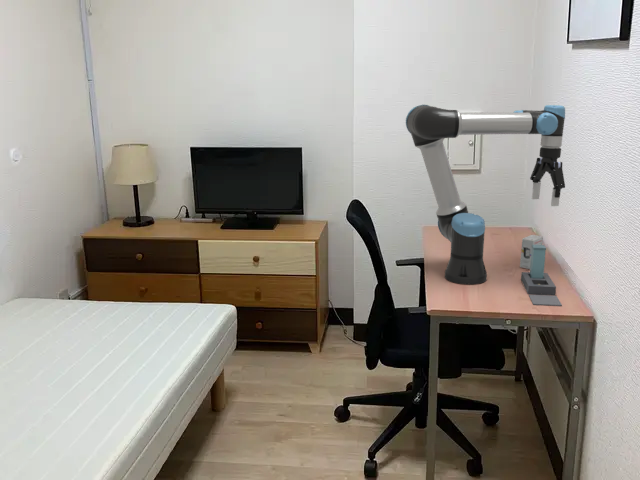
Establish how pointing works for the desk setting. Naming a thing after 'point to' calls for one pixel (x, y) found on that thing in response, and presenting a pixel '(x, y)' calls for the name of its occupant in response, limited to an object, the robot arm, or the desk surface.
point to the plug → (537, 261)
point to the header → (538, 284)
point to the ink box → (528, 249)
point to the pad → (545, 300)
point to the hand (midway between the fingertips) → (544, 202)
